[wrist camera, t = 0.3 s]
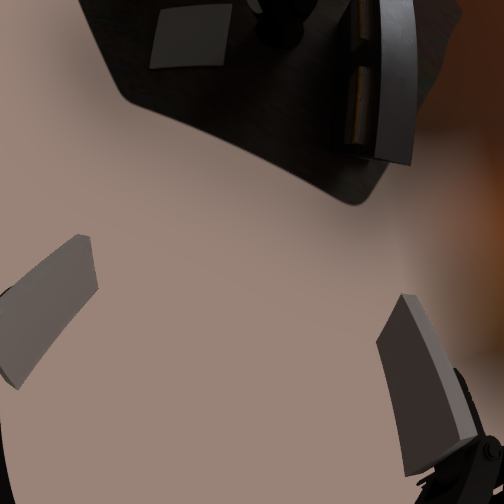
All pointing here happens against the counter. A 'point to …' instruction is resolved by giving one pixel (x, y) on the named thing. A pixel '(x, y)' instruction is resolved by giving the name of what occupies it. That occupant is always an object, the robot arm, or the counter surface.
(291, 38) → the beer glass
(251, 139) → the counter surface
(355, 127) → the label panel
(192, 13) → the rubber mat
